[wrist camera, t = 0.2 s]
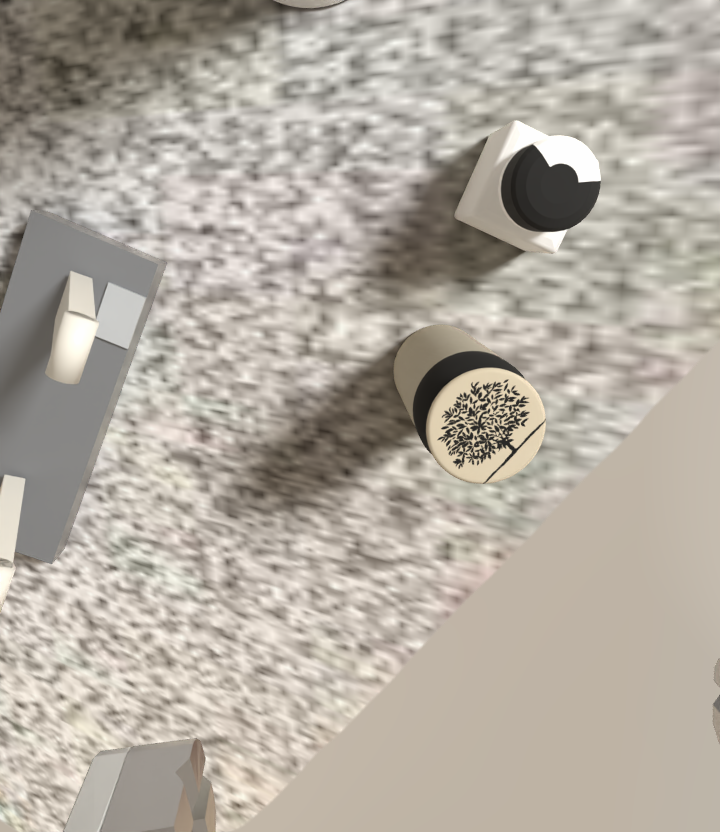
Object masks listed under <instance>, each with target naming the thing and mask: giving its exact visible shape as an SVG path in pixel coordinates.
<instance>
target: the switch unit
mask: <svg viewBox="0 0 720 832" xmlns="http://www.w3.org/2000/svg"><path fill="white" fill-rule="evenodd" d="M166 264H167V262H165V261H162V260H160V259H158V258H155V257H153V256H151V255H148V254H146V253H144V252H141V251H139V250H137V249H134V248H132V247H130V246H127V245H125V244H123V243H120V242H118V241H116V240H113V239H111V238H109V237H106V236H104V235H102V234H99V233H97V232H95V231H92V230H90V229H88V228H85V227H83V226H81V225H78V224H76V223H74V222H71V221H69V220H67V219H64V218H62V217H60V216H57V215H55V214H53V213H50V212H48V211H38V210H31V213H30V216H29V219H28V222H27V226H26V229H25V232H24V236H23V239H22V242H21V246H20V249H19V252H18V255H17V259H16V262H15V265H14V269H13V272H12V275H11V279H10V282H9V285H8V288H7V292H6V295H5V298H4V302H3V305H2V308H1V312H0V487H1V484H2V481H3V478H4V475H10V476H15V477H20V478H25V485H24V492H23V499H22V506H21V512H20V519H19V526H18V533H17V539H16V546H15V552H18V553H21V554H24V555H27V556H29V557H32V558H35V559H38V560H41V561H44V562H47V563H50V564H52V563H53V562H54V561H55V560H56V558H57V557H58V556H59V555H60V554H61V552H62V551H63V550H64V549H65V546H66V543H67V541H68V538H69V535H70V532H71V529H72V527H73V524H74V521H75V518H76V515H77V513H78V510H79V507H80V504H81V502H82V499H83V496H84V493H85V490H86V488H87V485H88V482H89V479H90V476H91V474H92V471H93V468H94V465H95V462H96V460H97V457H98V454H99V451H100V449H101V446H102V443H103V440H104V437H105V435H106V432H107V429H108V426H109V423H110V421H111V418H112V415H113V412H114V409H115V407H116V404H117V401H118V398H119V396H120V393H121V390H122V387H123V384H124V382H125V379H126V376H127V373H128V370H129V368H130V365H131V362H132V359H133V356H134V354H135V351H136V348H137V345H138V343H139V340H140V337H141V334H142V331H143V329H144V326H145V323H146V320H147V317H148V315H149V312H150V309H151V306H152V303H153V301H154V298H155V295H156V292H157V290H158V287H159V284H160V281H161V278H162V276H163V273H164V270H165V267H166ZM70 271H73V272H76V273H78V274H81V275H84V276H87V277H90V278H92V281H93V293H94V304H95V316H96V320H97V321H99V326H98V329H97V332H96V334H95V337H94V340H93V343H92V346H91V349H90V352H89V355H88V358H87V361H86V364H85V367H84V370H83V373H82V376H81V378H80V381H79V383H78V384H66V383H62V382H58V381H56V380H53V379H51V378H49V377H48V376H47V375H46V374H45V371H46V368H47V365H48V362H49V359H50V356H51V349H52V340H53V332H54V324H55V318H56V314H57V311H58V308H59V305H60V302H61V299H62V296H63V293H64V290H65V287H66V284H67V281H68V277H69V274H70Z"/></svg>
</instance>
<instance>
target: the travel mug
mask: <svg viewBox="0 0 720 832" xmlns="http://www.w3.org/2000/svg"><path fill="white" fill-rule="evenodd" d="M393 375H394V381H395V385H396V388H397V390H398V392H399V394H400V396H401V398H402V400H403V403H404V405H405V407H406V409H407V411H408V413H409V415H410V417H411V420H412V422H413V424H414V426H415V428H416V430H417V432H418V434H419V436H420V439H421V441H422V443H423V444H424V446H425V447H426V449H427V450H428V451H429V452H430V453H431V454H432V455H433V457H434V458H435V460H436V461H437V463H438V464H439V465H440V466H441V467H442V468H443V469H444V470H445V471H446V472H448V473H449V474H451V475H452V476H454V477H456V478H458V479H460V480H463V481H466V482H471V483H480V484H484V483H494V482H498V481H501V480H504V479H507V478H509V477H511V476H513V475H515V474H516V473H518V472H519V471H521V470H522V469H523V468H524V467H525V466H526V465H528V464H529V462H530V461H531V460H532V459H533V458H534V456H535V455H536V453H537V452H538V450H539V448H540V446H541V443H542V441H543V437H544V433H545V425H546V419H545V411H544V407H543V404H542V401H541V399H540V397H539V395H538V393H537V392H536V390H535V389H534V388H533V387H532V386H531V385H530V384H529V383H528V382H527V381H526V380H525V378H524V377H523V375H522V374H521V373H520V372H519V371H518V370H517V369H516V368H515V367H513V366H512V365H511V364H509V363H508V362H506V361H505V360H504V359H502V358H501V357H499V356H498V355H497V354H495V353H494V352H492V351H491V350H490V349H488V348H487V347H485V346H484V345H482V344H481V343H480V342H478V341H477V340H475V339H474V338H473V337H471V336H470V335H468V334H467V333H465V332H464V331H462V330H460V329H458V328H456V327H453V326H449V325H433V326H428V327H425V328H422V329H420V330H418V331H416V332H415V333H413V334H412V335H411V336H410V337H408V338H407V339H406V340H405V342H404V343H403V344H402V345H401V347H400V349H399V350H398V353H397V355H396V358H395V361H394V368H393Z"/></svg>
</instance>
